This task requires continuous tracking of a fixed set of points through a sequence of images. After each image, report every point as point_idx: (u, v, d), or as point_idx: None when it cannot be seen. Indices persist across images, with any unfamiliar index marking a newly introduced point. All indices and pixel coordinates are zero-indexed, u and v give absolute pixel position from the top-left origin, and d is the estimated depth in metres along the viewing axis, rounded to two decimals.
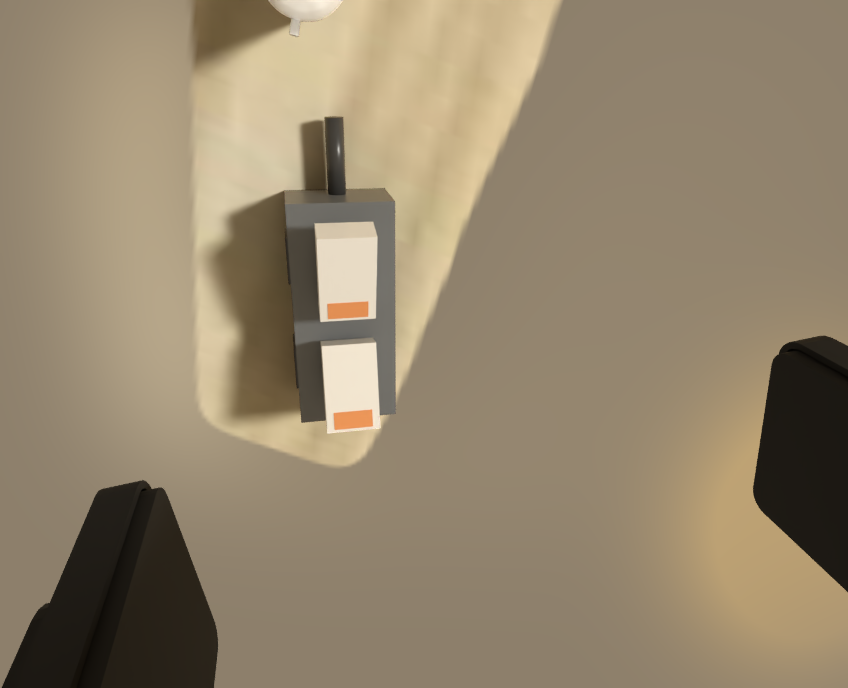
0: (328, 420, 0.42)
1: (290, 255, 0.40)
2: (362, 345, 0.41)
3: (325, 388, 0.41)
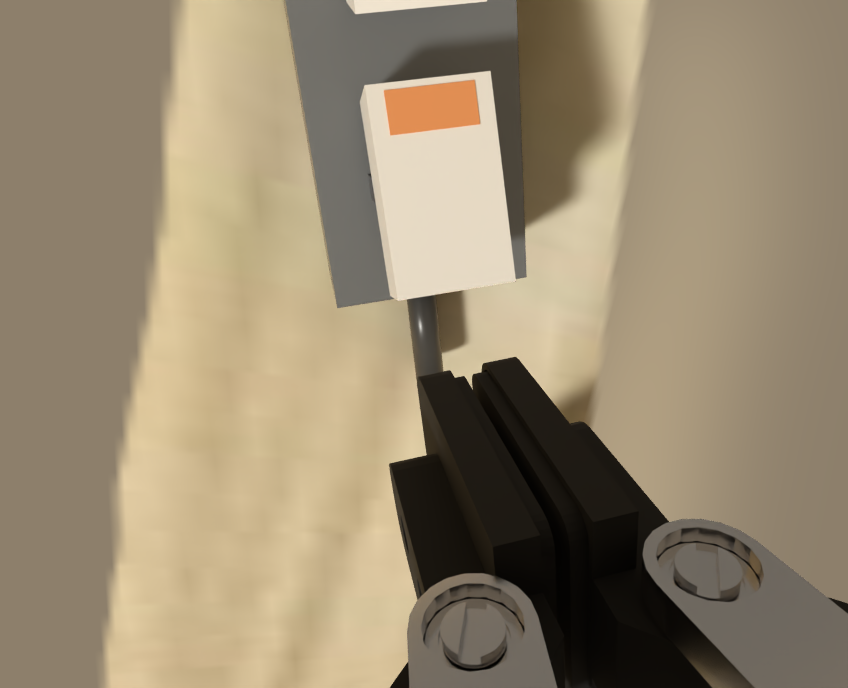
0: None
1: (520, 186, 0.21)
2: (389, 5, 0.16)
3: None
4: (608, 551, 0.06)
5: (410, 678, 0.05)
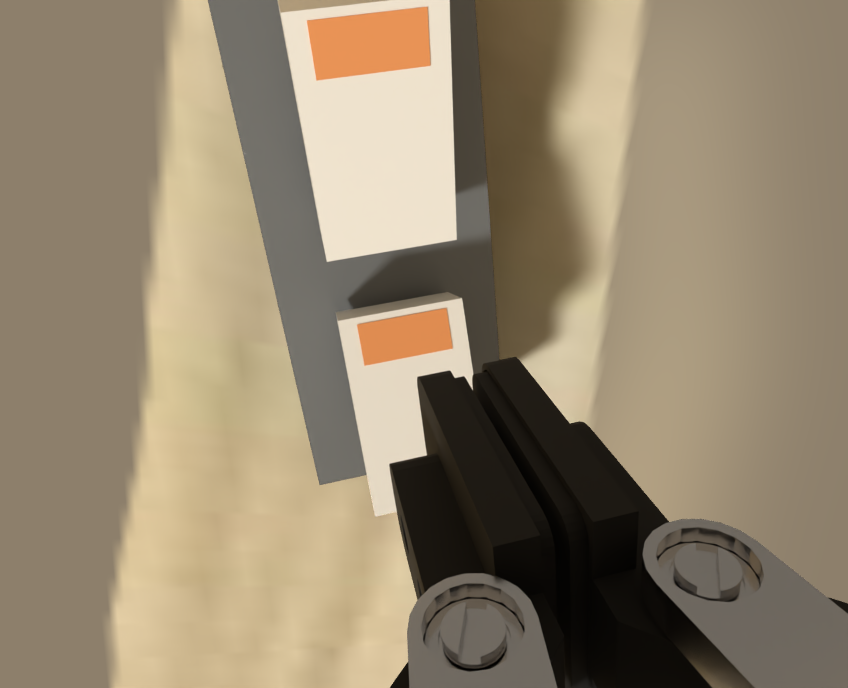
0: (445, 40, 0.14)
1: None
2: (360, 252, 0.17)
3: (451, 137, 0.15)
4: (608, 551, 0.06)
5: (410, 678, 0.05)
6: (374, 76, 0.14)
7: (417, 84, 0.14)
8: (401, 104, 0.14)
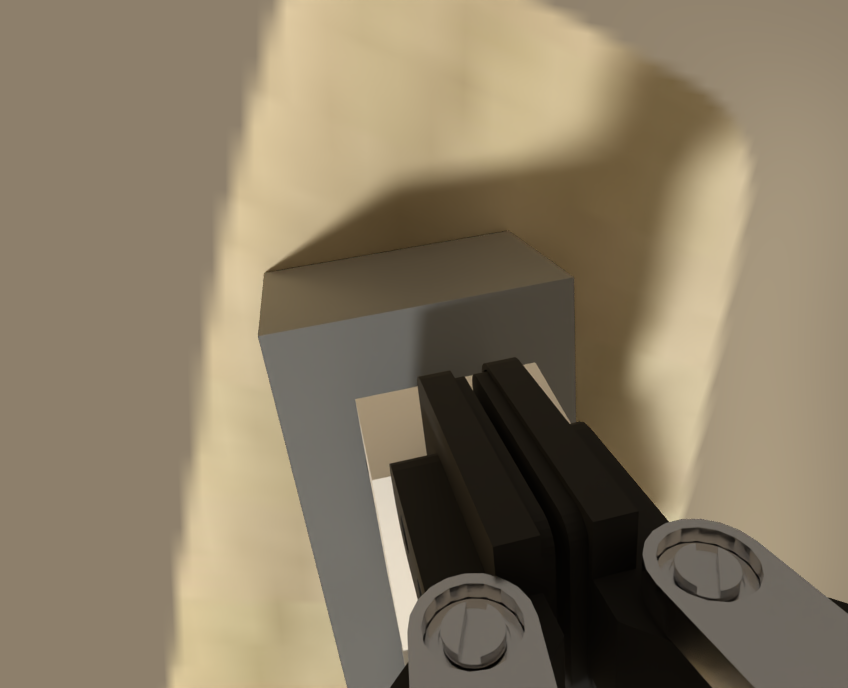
0: None
1: None
2: None
3: None
4: (608, 551, 0.06)
5: (410, 678, 0.05)
6: None
7: None
8: None
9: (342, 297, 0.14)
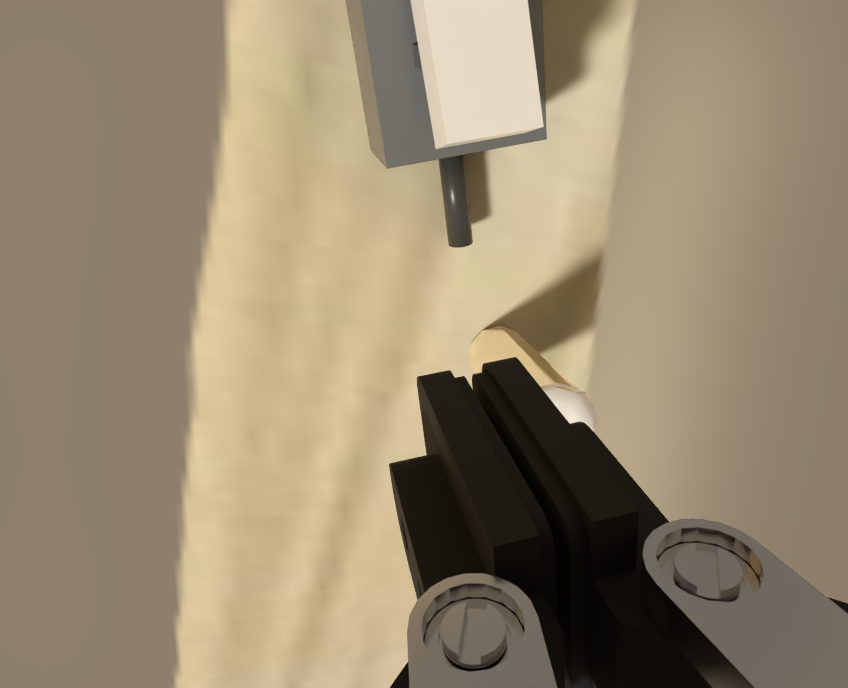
0: None
1: (541, 54, 0.25)
2: None
3: None
4: (608, 551, 0.06)
5: (410, 678, 0.05)
6: None
7: None
8: None
9: None
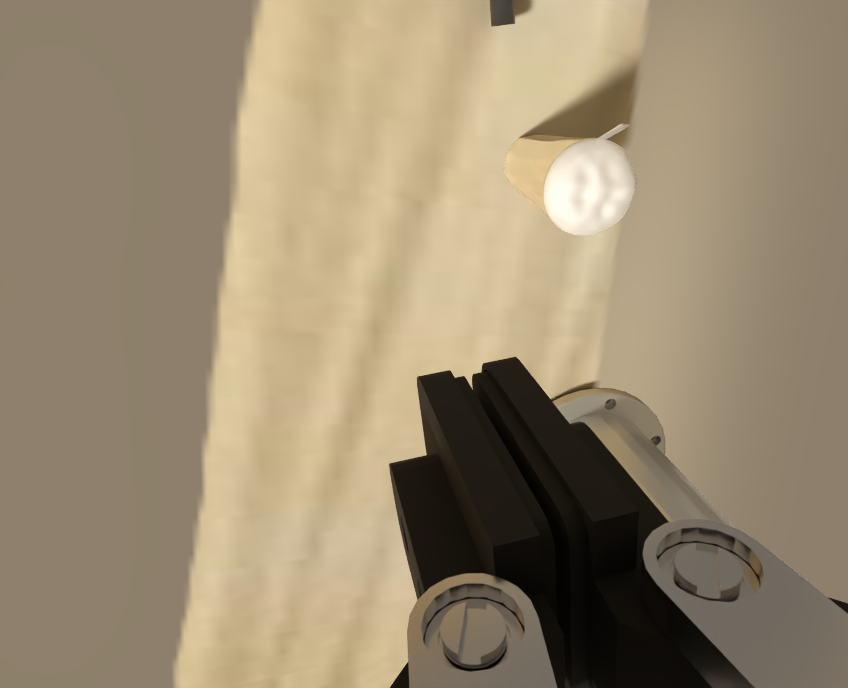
0: None
1: None
2: None
3: None
4: (608, 551, 0.06)
5: (410, 678, 0.05)
6: None
7: None
8: None
9: None
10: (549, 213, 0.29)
